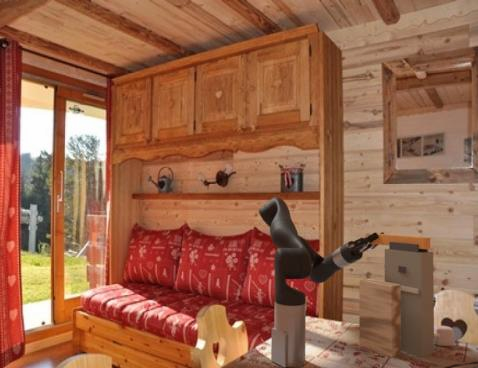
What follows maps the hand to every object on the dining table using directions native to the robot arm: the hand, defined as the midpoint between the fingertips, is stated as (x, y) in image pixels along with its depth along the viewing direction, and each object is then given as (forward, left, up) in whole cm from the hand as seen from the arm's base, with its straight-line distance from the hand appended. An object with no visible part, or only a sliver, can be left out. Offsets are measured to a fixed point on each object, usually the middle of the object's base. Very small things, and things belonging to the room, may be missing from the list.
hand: (380, 234), depth 138 cm
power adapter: (+12, -13, -37) cm, 41 cm away
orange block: (0, -6, -3) cm, 7 cm away
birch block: (-9, -5, -36) cm, 38 cm away
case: (0, -10, -36) cm, 38 cm away
